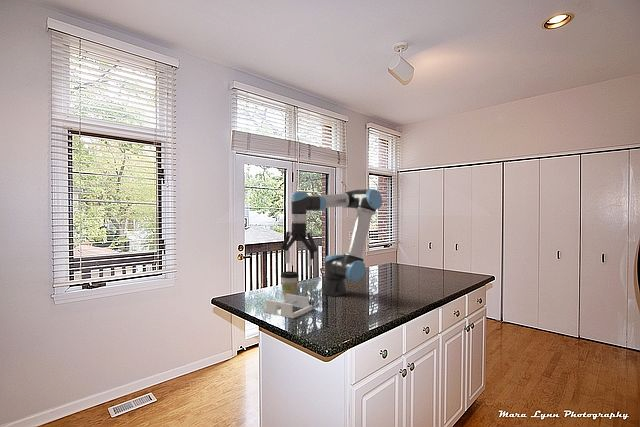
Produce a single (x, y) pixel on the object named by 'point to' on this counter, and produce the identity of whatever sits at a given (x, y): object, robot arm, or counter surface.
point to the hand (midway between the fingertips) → (298, 264)
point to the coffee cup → (289, 283)
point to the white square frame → (285, 308)
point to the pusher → (297, 301)
